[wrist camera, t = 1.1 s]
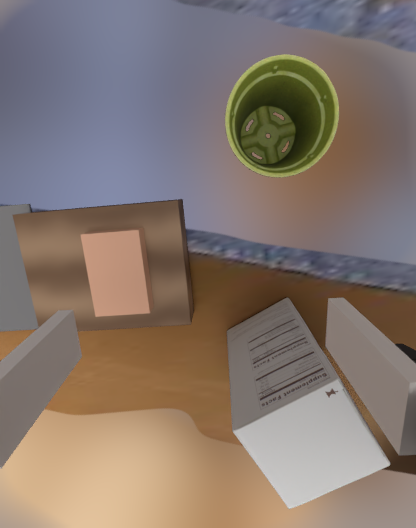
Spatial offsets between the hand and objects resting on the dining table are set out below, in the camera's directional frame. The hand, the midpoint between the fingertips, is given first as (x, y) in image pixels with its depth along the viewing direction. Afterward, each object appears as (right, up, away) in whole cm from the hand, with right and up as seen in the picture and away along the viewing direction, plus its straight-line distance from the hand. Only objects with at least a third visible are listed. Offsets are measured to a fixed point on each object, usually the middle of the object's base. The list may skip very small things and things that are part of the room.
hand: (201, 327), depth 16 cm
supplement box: (+9, -7, +24) cm, 27 cm away
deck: (-11, +3, +22) cm, 25 cm away
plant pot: (+7, +17, +18) cm, 26 cm away
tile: (-9, +3, +18) cm, 21 cm away
